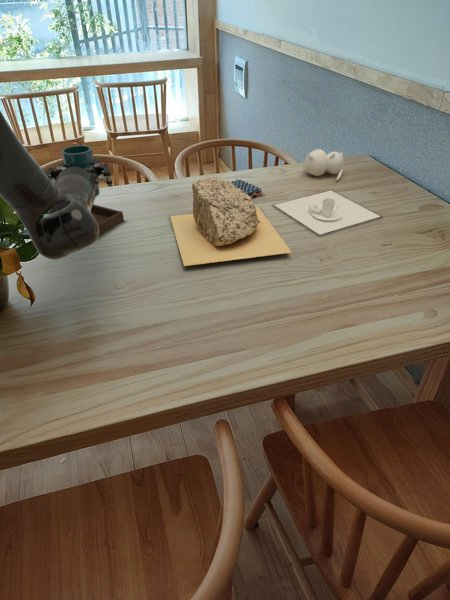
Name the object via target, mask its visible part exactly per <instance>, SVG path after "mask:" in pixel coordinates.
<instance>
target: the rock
mask: <svg viewBox="0 0 450 600" xmlns="http://www.w3.org/2000/svg"><path fill="white" fill-rule="evenodd" d="M191 189H192V196H193V197H192V198H193V199H192V213H188V214H186V213H185V214H177V215H170V217H169V218H170V221H171V225H172V229H173V232H174V235H175V236H174V237H175V239H176V242H177V247H178V249H179V253H180V258H181V260H182V264H183V267H189V266H195V265H196V266H197V265H205V264H210V263H218V262H228V261H234V260H242V259H243V260H245V259H253V258H257V257H259V258H261V257H268V256H275V255H283V254H290V253H292V254H293V252H292V251H291V249H290V248H289V246H288V244H287V243H286V242H285V241H284V239H283V238H282V237H281V235H280V234H279V232H277V230H276V229H275V227H274V226H273V225H272V223H271V222H270V221H269V219H268V218H267V216H266V215H265V213H264V212H263V211H262V210H261V208H260V207H259V206H255V204H254V202H253V199H252V198H253V197H252V198H251V197H250V196H248V194H247V193H246V192H244V191H242V190H240V189H239V188H236V187H235V186H234V184H233V183H232V181H229V180H227V179H222V178H221V177H219V176H212V177H208V178H205V179H201V180H200V179H199V180H195V181H194V182H192V184H191Z"/></svg>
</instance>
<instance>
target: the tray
mask: <svg viewBox="0 0 450 600" xmlns="http://www.w3.org/2000/svg"><path fill="white" fill-rule="evenodd" d="M91 213H92V215H93V216H94V218H95V220H96V222H97V224H98V227H99V236H98V237H100V236H102V235H103V234H105V233H106V232H108V231H110V230H111V229H113V228H115V227H116V226H118V225H119V224H121V223H123V222H125V219H124V213H123V211H122V210H116V209H113V208H109V207H105V206H102V205H97V204H93V207H92V210H91Z"/></svg>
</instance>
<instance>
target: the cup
mask: <svg viewBox="0 0 450 600" xmlns="http://www.w3.org/2000/svg"><path fill="white" fill-rule="evenodd" d="M61 156H62V161H64V165H65V167H66V168H69V167H79V168H82V169H84V168H85V167H87V166H88V165H92V166H93V165H94V159H95V158H94V154H93V148H92V147H91V146H90V145H85V144H78V145H70V146H66V147H64V148H62V150H61ZM100 191H101V190H100V185H99V184H98V185H96V190H95V198H97V197H98V196H99V195H100V193H101V192H100Z"/></svg>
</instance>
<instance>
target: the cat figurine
mask: <svg viewBox="0 0 450 600" xmlns="http://www.w3.org/2000/svg"><path fill="white" fill-rule="evenodd" d="M343 166H344V152H343V151H341V152H339V151H336V150H333V151H330V152H329V153H327V152H325V151H324V150H323V149H320V148H316V149H314V150H312V151H311V152H309V153H308V154H307V156H306V157H305V161H304V167H303V169H302V172H306V173H309V174H310V175H312V176H314V177H319V176H322V175H323V174H325V173H329V174H331V175H335V174H337V173H338V175H337V176H336V179H335V181H338V180H340V178H341V176H342V174H343V169H344V167H343Z"/></svg>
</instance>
